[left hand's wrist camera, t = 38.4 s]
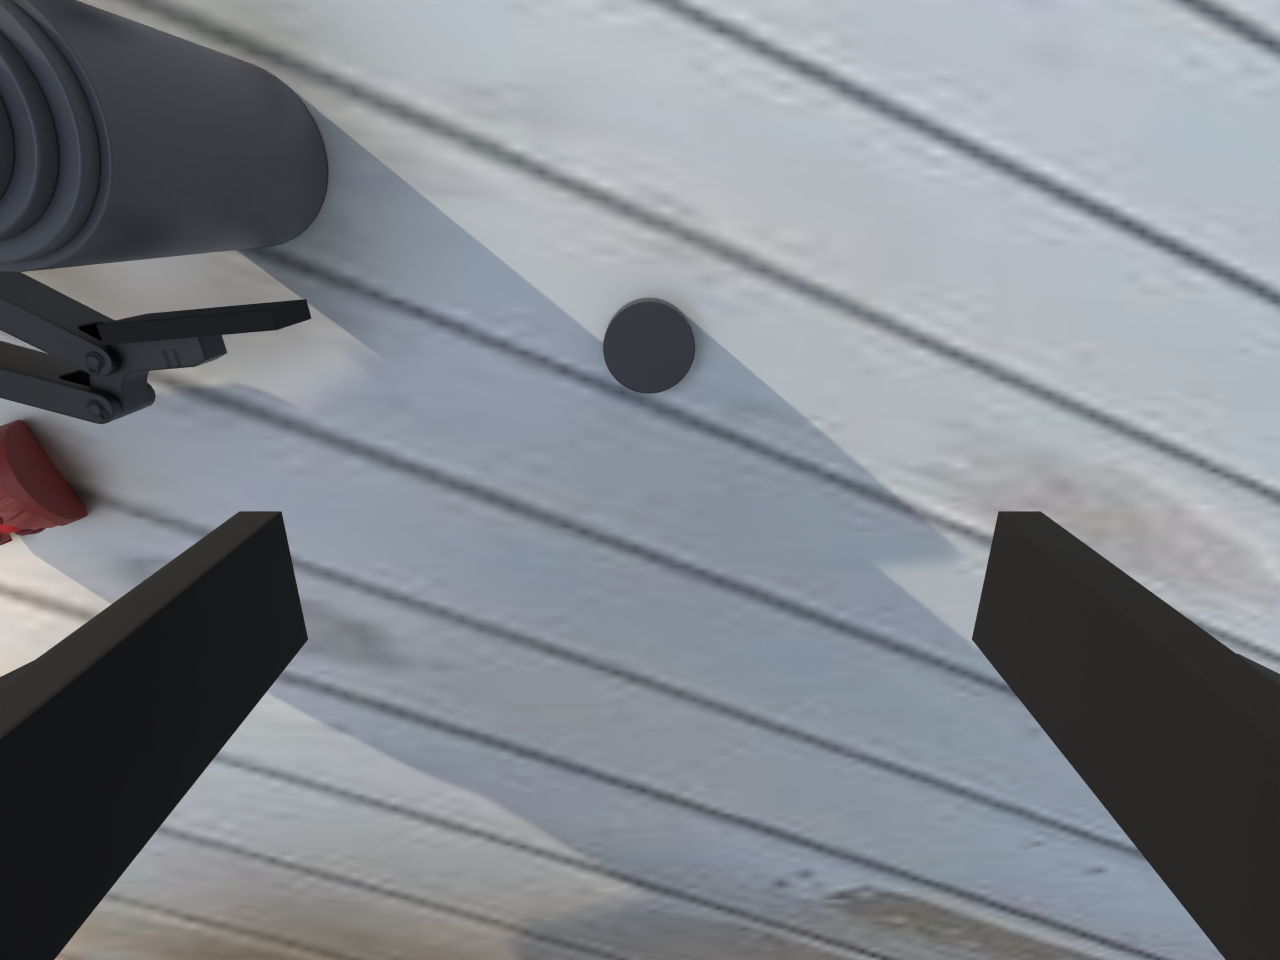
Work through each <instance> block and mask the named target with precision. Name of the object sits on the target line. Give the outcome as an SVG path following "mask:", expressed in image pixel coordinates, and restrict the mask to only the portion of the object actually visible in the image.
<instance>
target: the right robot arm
mask: <svg viewBox="0 0 1280 960" xmlns="http://www.w3.org/2000/svg"><path fill="white" fill-rule="evenodd" d="M308 319H311V316H310V312H309V308H308V304H307V300H306V299H304V300H293V301H282V302H271V303H260V304H249V305H238V306H227V307H216V308H205V309H194V310H183V311H172V312H161V313H151V314H144V315H139V316H135V317H130V318H125V319H121V320H116V321H115V320H113V319H111V318H109V317H107V316H105V315H103V314H101V313H99V312H97V311H95V310H93V309H91V308H89V307H87V306H85V305H83V304H81V303H79V302H77V301H75V300H74V299H72V298H70V297H68V296H66V295H64V294H62V293H60V292H58V291H56V290H54V289H52V288H50V287H48V286H46V285H44V284H42V283H40V282H38V281H36V280H34V279H32V278H31V277H29V276H27V275H25V274H23V273H21V272H6V271H0V330H2V331H4V332H6V333H8V334H10V335H12V336H14V337H16V338H18V339H20V340H22V341H24V342H26V343H28V344H30V345H32V346H34V347H36V348H38V349H40V350H42V351H44V352H46V353H48V354H46V353H43V352H39V351H35V350H32V349H28V348H24V347H21V346H17V345H14V344H10V343H6V342H3V341H0V398H3V399H7V400H11V401H15V402H18V403H22V404H26V405H30V406H33V407H37V408H41V409H45V410H48V411H52V412H56V413H60V414H63V415H67V416H71V417H75V418H78V419H82V420H86V421H90V422H94V423H98V424H105V423H108V422H110V421H113V420H115V419H118V418H121V417H123V416H126V415H128V414H131V413H133V412H136V411H138V410H141V409H143V408H146V407H148V406H151V405H152V404H153V403H154V401H155V391H154V390H153V388H152V386H151V385H149V384H148V383H147V375H148V372H149V371H151V370H162V369H174V368H185V367H195V366H198V365H201V364H204V363H207V362H209V361H212V360H215V359H217V358H219V357H221V356H223V355H224V354H226V353H227V351H226V348H225V344H224V341H223V338H222V335H225V334H237V333H248V332H259V331H270V330H278V329H281V328H284V327H287V326H290V325H293V324H296V323H299V322H302V321H305V320H308Z"/></svg>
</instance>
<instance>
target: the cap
mask: <svg viewBox="0 0 1280 960" xmlns="http://www.w3.org/2000/svg"><path fill="white" fill-rule="evenodd" d="M603 350H604V358H605V361H606V364H607V367H608V369H609V371H610V372H611V374H612V375H613V376H614V378H615V379H616V380H617V381H618V382H620V383H621V384H622V385H624V386H625V387H627V388H629V389H631V390H633V391H636V392H640V393H657V392H662V391H665V390H667V389H669V388H671V387H673V386H675V385H676V384H677V383H678V382H680V381H681V380H682V379H683V378H684V376H685V375H686V374H687V372H688V371H689V369H690V367H691V364H692V362H693V358H694V352H695V343H694V337H693V333H692V330H691V327H690V325H689V323H688V321H687V319H686V317H685V316H684V315H683V313H682V312H681V311H680V310H679V309H678V308H676V307H675V306H674V305H672V304H670V303H669V302H666V301H664V300H661V299H656V298H643V299H638V300H635V301H632V302H630V303H628V304H626V305H625V306H623V307H622V308H621V309H620V310H618V312H617V313H616V314H615V315H614V316H613V318H612V319H611V321H610V323H609V325H608V328H607V331H606V334H605V338H604V345H603Z"/></svg>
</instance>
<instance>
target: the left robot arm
mask: <svg viewBox="0 0 1280 960" xmlns="http://www.w3.org/2000/svg"><path fill="white" fill-rule="evenodd" d="M307 640H308V637H307V632H306V627H305V622H304V618H303V613H302V608H301V603H300V598H299V594H298V589H297V584H296V579H295V574H294V570H293V565H292V560H291V555H290V550H289V546H288V541H287V536H286V531H285V526H284V522H283V517H282V512H238V513H237V514H235V515H234V516H233V517H231V518H230V519H229V520H227V521H226V522H224V523H223V524H222V525H220V526H219V527H218V528H216V529H215V530H213V531H212V532H211V533H209V534H208V535H207V536H205V537H204V538H202V539H201V540H200V541H198V542H197V543H196V544H194V545H193V546H191V547H190V548H189V549H187V550H186V551H185V552H183V553H182V554H180V555H179V556H178V557H176V558H175V559H174V560H172V561H171V562H169V563H168V564H167V565H165V566H164V567H163V568H161V569H160V570H158V571H157V572H156V573H154V574H153V575H152V576H150V577H149V578H147V579H146V580H145V581H143V582H142V583H141V584H139V585H138V586H136V587H135V588H134V589H132V590H131V591H130V592H128V593H127V594H125V595H124V596H123V597H121V598H120V599H119V600H117V601H116V602H114V603H113V604H112V605H110V606H109V607H108V608H106V609H105V610H103V611H102V612H101V613H99V614H98V615H97V616H95V617H94V618H92V619H91V620H90V621H88V622H87V623H86V624H84V625H83V626H81V627H80V628H79V629H77V630H76V631H75V632H73V633H72V634H70V635H69V636H68V637H66V638H65V639H64V640H62V641H61V642H59V643H58V644H57V645H55V646H54V647H53V648H51V649H50V650H48V651H47V652H46V653H44V654H43V655H42V656H40V657H39V658H37V659H36V660H34V661H32V662H30V663H28V664H26V665H24V666H22V667H20V668H18V669H16V670H14V671H12V672H10V673H8V674H6V675H4V676H2V677H0V960H54V959H55V958H56V957H57V956H58V954H59V953H60V952H61V950H62V949H63V948H64V947H65V945H66V944H67V943H68V942H69V940H70V939H71V938H72V937H73V935H74V934H75V933H76V932H77V930H78V929H79V928H80V926H81V925H82V924H83V923H84V921H85V920H86V919H87V918H88V916H89V915H90V914H91V913H92V911H93V910H94V909H95V908H96V906H97V905H98V904H99V903H100V901H101V900H102V899H103V897H104V896H105V895H106V894H107V892H108V891H109V890H110V889H111V887H112V886H113V885H114V884H115V882H116V881H117V880H118V879H119V877H120V876H121V875H122V873H123V872H124V871H125V870H126V868H127V867H128V866H129V865H130V863H131V862H132V861H133V860H134V858H135V857H136V856H137V855H138V853H139V852H140V851H141V850H142V848H143V847H144V846H145V844H146V843H147V842H148V841H149V839H150V838H151V837H152V836H153V834H154V833H155V832H156V831H157V829H158V828H159V827H160V826H161V824H162V823H163V822H164V820H165V819H166V818H167V817H168V815H169V814H170V813H171V812H172V810H173V809H174V808H175V807H176V805H177V804H178V803H179V802H180V800H181V799H182V798H183V797H184V795H185V794H186V793H187V791H188V790H189V789H190V788H191V786H192V785H193V784H194V783H195V781H196V780H197V779H198V778H199V776H200V775H201V774H202V773H203V771H204V770H205V769H206V767H207V766H208V765H209V764H210V762H211V761H212V760H213V759H214V757H215V756H216V755H217V754H218V752H219V751H220V750H221V749H222V747H223V746H224V745H225V744H226V742H227V741H228V740H229V738H230V737H231V736H232V735H233V733H234V732H235V731H236V730H237V728H238V727H239V726H240V725H241V723H242V722H243V721H244V720H245V718H246V717H247V716H248V714H249V713H250V712H251V711H252V709H253V708H254V707H255V706H256V704H257V703H258V702H259V701H260V699H261V698H262V697H263V696H264V694H265V693H266V692H267V690H268V689H269V688H270V687H271V685H272V684H273V683H274V682H275V680H276V679H277V678H278V677H279V675H280V674H281V673H282V672H283V670H284V669H285V668H286V667H287V665H288V664H289V663H290V661H291V660H292V659H293V658H294V656H295V655H296V654H297V653H298V651H299V650H300V649H301V648H302V646H303V645H304V644H305V643H306V641H307ZM972 640H973V641H974V643H975V644H976V645H977V646H978V648H979V649H980V650H981V651H982V653H983V654H984V655H985V656H986V658H987V659H988V660H989V661H990V663H991V664H992V665H993V667H994V668H995V669H996V670H997V672H998V673H999V674H1000V675H1001V677H1002V678H1003V679H1004V680H1005V682H1006V683H1007V684H1008V685H1009V687H1010V688H1011V689H1012V691H1013V692H1014V693H1015V694H1016V696H1017V697H1018V698H1019V699H1020V701H1021V702H1022V703H1023V704H1024V706H1025V707H1026V708H1027V709H1028V711H1029V712H1030V713H1031V714H1032V716H1033V717H1034V718H1035V720H1036V721H1037V722H1038V723H1039V725H1040V726H1041V727H1042V728H1043V730H1044V731H1045V732H1046V733H1047V735H1048V736H1049V737H1050V738H1051V740H1052V741H1053V742H1054V744H1055V745H1056V746H1057V747H1058V749H1059V750H1060V751H1061V752H1062V754H1063V755H1064V756H1065V757H1066V759H1067V760H1068V761H1069V762H1070V764H1071V765H1072V766H1073V767H1074V769H1075V770H1076V771H1077V773H1078V774H1079V775H1080V776H1081V778H1082V779H1083V780H1084V781H1085V783H1086V784H1087V785H1088V786H1089V788H1090V789H1091V790H1092V791H1093V793H1094V794H1095V795H1096V797H1097V798H1098V799H1099V800H1100V802H1101V803H1102V804H1103V805H1104V807H1105V808H1106V809H1107V810H1108V812H1109V813H1110V814H1111V815H1112V817H1113V818H1114V819H1115V820H1116V822H1117V823H1118V824H1119V826H1120V827H1121V828H1122V829H1123V831H1124V832H1125V833H1126V834H1127V836H1128V837H1129V838H1130V839H1131V841H1132V842H1133V843H1134V844H1135V846H1136V847H1137V848H1138V850H1139V851H1140V852H1141V853H1142V855H1143V856H1144V857H1145V858H1146V860H1147V861H1148V862H1149V863H1150V865H1151V866H1152V867H1153V868H1154V870H1155V871H1156V872H1157V873H1158V875H1159V876H1160V877H1161V879H1162V880H1163V881H1164V882H1165V884H1166V885H1167V886H1168V887H1169V889H1170V890H1171V891H1172V892H1173V894H1174V895H1175V896H1176V897H1177V899H1178V900H1179V901H1180V903H1181V904H1182V905H1183V906H1184V908H1185V909H1186V910H1187V911H1188V913H1189V914H1190V915H1191V916H1192V918H1193V919H1194V920H1195V921H1196V923H1197V924H1198V925H1199V927H1200V928H1201V929H1202V930H1203V932H1204V933H1205V934H1206V935H1207V937H1208V938H1209V939H1210V940H1211V942H1212V943H1213V944H1214V945H1215V947H1216V948H1217V949H1218V950H1219V952H1220V953H1221V954H1222V956H1223V957H1224V958H1225V959H1226V960H1280V674H1278V673H1276V672H1274V671H1272V670H1270V669H1268V668H1266V667H1264V666H1262V665H1260V664H1258V663H1256V662H1254V661H1252V660H1250V659H1248V658H1246V657H1244V656H1242V655H1240V654H1236V653H1234V652H1233V651H1232V650H1230V649H1229V648H1227V647H1226V646H1225V645H1223V644H1222V643H1221V642H1219V641H1218V640H1216V639H1215V638H1214V637H1212V636H1211V635H1210V634H1208V633H1207V632H1205V631H1204V630H1203V629H1201V628H1200V627H1199V626H1197V625H1196V624H1194V623H1193V622H1192V621H1190V620H1189V619H1188V618H1186V617H1185V616H1183V615H1182V614H1181V613H1179V612H1178V611H1177V610H1175V609H1174V608H1172V607H1171V606H1170V605H1168V604H1167V603H1166V602H1164V601H1163V600H1161V599H1160V598H1159V597H1157V596H1156V595H1155V594H1153V593H1152V592H1150V591H1149V590H1148V589H1146V588H1145V587H1144V586H1142V585H1141V584H1139V583H1138V582H1137V581H1135V580H1134V579H1133V578H1131V577H1130V576H1128V575H1127V574H1126V573H1124V572H1123V571H1122V570H1120V569H1119V568H1117V567H1116V566H1115V565H1113V564H1112V563H1111V562H1109V561H1108V560H1106V559H1105V558H1104V557H1102V556H1101V555H1100V554H1098V553H1097V552H1095V551H1094V550H1093V549H1091V548H1090V547H1089V546H1087V545H1086V544H1084V543H1083V542H1082V541H1080V540H1079V539H1078V538H1076V537H1075V536H1073V535H1072V534H1071V533H1069V532H1068V531H1067V530H1065V529H1064V528H1062V527H1061V526H1060V525H1058V524H1057V523H1056V522H1054V521H1053V520H1051V519H1050V518H1049V517H1047V516H1046V515H1045V514H1043V513H1042V512H998V517H997V522H996V526H995V531H994V536H993V541H992V546H991V550H990V555H989V560H988V565H987V570H986V574H985V579H984V584H983V589H982V594H981V598H980V603H979V608H978V613H977V618H976V622H975V627H974V632H973V637H972Z"/></svg>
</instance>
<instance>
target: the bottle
mask: <svg viewBox="0 0 1280 960" xmlns="http://www.w3.org/2000/svg"><path fill="white" fill-rule="evenodd" d="M327 179H328V166H327V158H326V152H325V148H324V144H323V141H322V138H321V135H320V132H319V130H318V128H317V126H316V124H315V121H314V119H313V117H312V116H311V114H310V113H309V111H308V110H307V108H306V106H305V105H304V104H303V103H302V101H301V100H300V99H299V98H298V96H297V95H296V94H295V93H294V92H293V91H292V90H291V89H290V88H289V87H288V86H287V85H286V84H284V83H283V82H282V81H281V80H280V79H278V78H277V77H275V76H274V75H272V74H271V73H269V72H268V71H266V70H264V69H262V68H260V67H258V66H256V65H253V64H250V63H248V62H245V61H242V60H239V59H237V58H234V57H231V56H228V55H226V54H223V53H220V52H217V51H215V50H212V49H209V48H206V47H204V46H201V45H198V44H195V43H193V42H190V41H187V40H184V39H181V38H179V37H176V36H173V35H170V34H168V33H165V32H162V31H159V30H157V29H154V28H151V27H148V26H146V25H143V24H140V23H137V22H135V21H132V20H129V19H126V18H124V17H121V16H118V15H115V14H113V13H110V12H107V11H104V10H102V9H99V8H96V7H93V6H90V5H88V4H85V3H82V2H79V1H77V0H0V271H6V272H24V271H34V270H44V269H54V268H63V267H73V266H83V265H93V264H102V263H112V262H122V261H132V260H141V259H151V258H161V257H171V256H180V255H190V254H200V253H210V252H219V251H229V250H239V249H249V248H258V247H268V246H275V245H278V244H282V243H285V242H287V241H289V240H292V239H293V238H295V237H296V236H298V235H299V234H301V233H302V232H303V231H304V230H305V229H306V228H308V226H309V225H310V224H311V223H312V222H313V220H314V219H315V217H316V216H317V214H318V212H319V210H320V208H321V206H322V203H323V201H324V197H325V193H326V188H327Z"/></svg>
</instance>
